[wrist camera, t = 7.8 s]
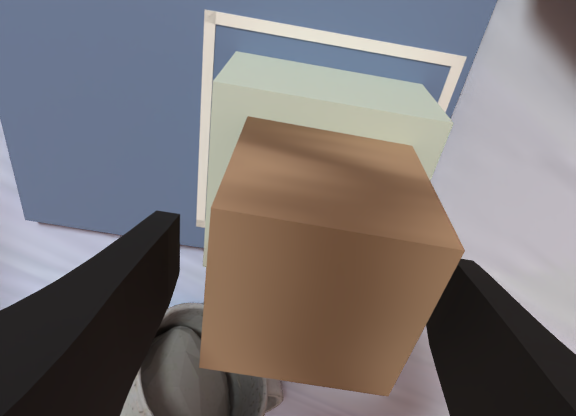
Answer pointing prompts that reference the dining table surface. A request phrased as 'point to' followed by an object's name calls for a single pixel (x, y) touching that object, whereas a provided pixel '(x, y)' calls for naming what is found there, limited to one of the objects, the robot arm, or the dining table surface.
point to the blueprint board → (184, 88)
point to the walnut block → (322, 258)
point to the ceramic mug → (193, 376)
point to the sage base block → (318, 109)
